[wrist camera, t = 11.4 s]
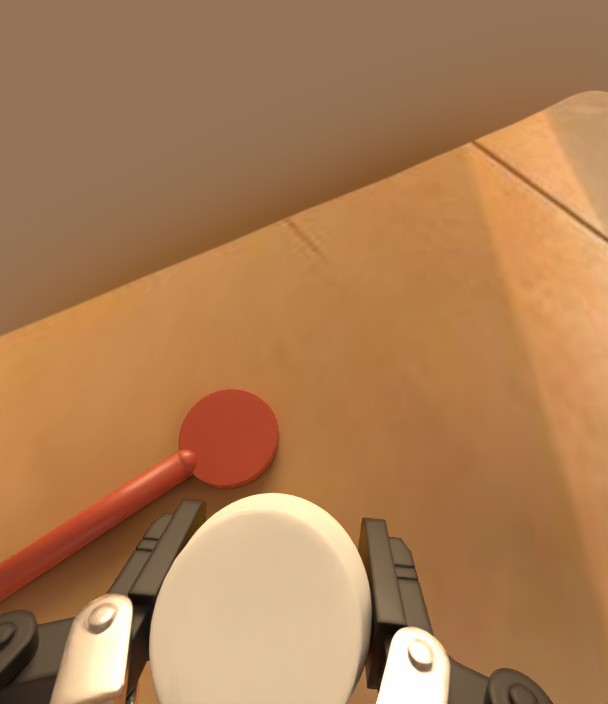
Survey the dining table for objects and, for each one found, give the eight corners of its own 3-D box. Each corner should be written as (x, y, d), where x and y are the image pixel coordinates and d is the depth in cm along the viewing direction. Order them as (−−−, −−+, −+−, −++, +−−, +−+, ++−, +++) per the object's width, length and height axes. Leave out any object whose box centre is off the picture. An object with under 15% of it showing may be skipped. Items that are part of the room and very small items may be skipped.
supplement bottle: (275, 705, 13) (226, 979, 5) (191, 581, 15) (50, 619, 7) (372, 585, 15) (459, 630, 7) (286, 487, 17) (268, 425, 8)
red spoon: (-42, 686, 15) (-74, 699, 13) (-63, 566, 17) (-92, 567, 16) (297, 450, 19) (296, 443, 18) (248, 378, 21) (244, 367, 20)
